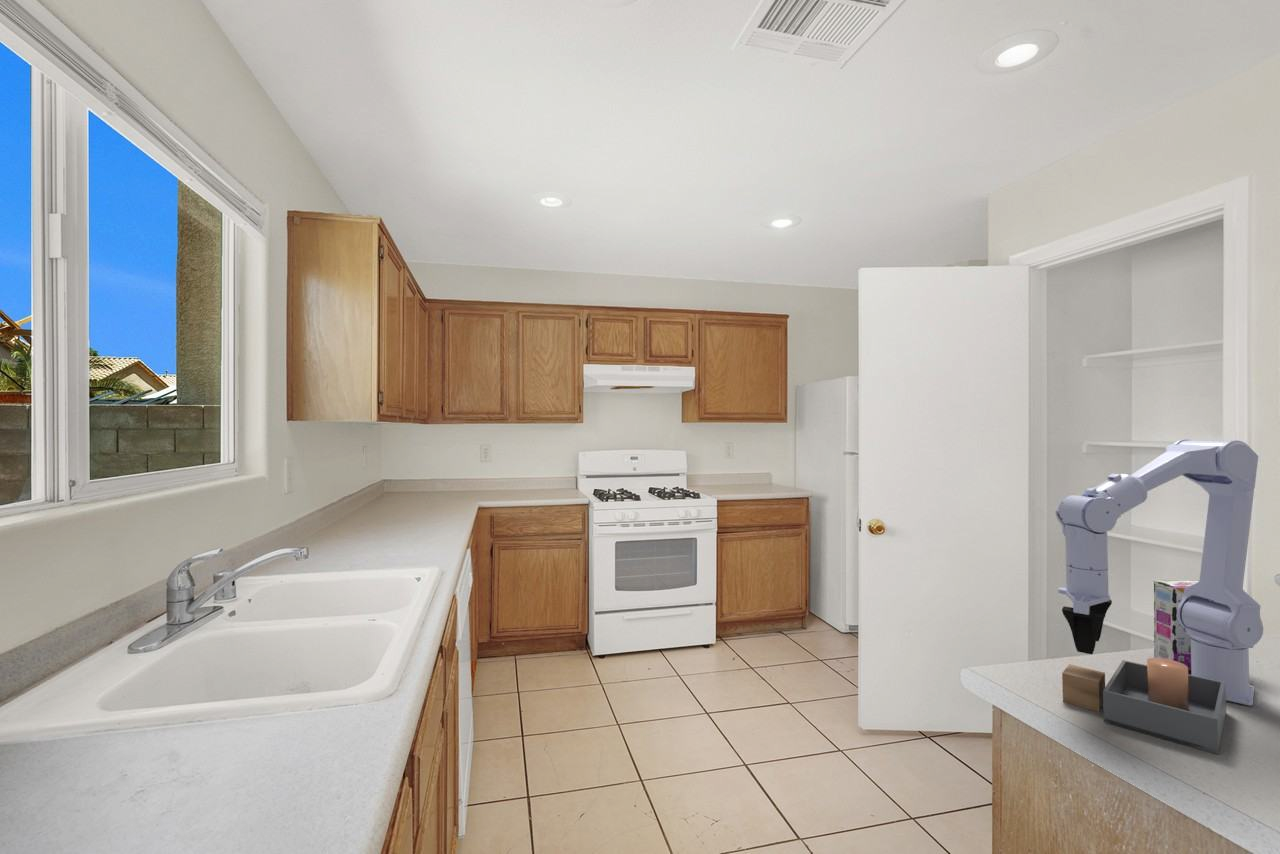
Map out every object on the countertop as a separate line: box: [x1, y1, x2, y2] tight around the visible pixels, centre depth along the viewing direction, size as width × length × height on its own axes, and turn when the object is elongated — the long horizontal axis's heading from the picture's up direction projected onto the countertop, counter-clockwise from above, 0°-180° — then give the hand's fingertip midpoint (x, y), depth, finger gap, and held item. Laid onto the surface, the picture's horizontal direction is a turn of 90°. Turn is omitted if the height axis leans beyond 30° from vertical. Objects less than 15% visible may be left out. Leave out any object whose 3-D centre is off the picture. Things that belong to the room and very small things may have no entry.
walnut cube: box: [1061, 664, 1106, 712], centre depth 100 cm, size 5×5×5 cm
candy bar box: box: [1153, 580, 1226, 674], centre depth 111 cm, size 11×5×16 cm, turn 88°
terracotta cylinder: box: [1146, 657, 1189, 711], centre depth 96 cm, size 5×5×7 cm
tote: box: [1102, 659, 1227, 756], centre depth 94 cm, size 17×13×5 cm
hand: (1088, 646), depth 100 cm, fingers open, 7 cm apart
